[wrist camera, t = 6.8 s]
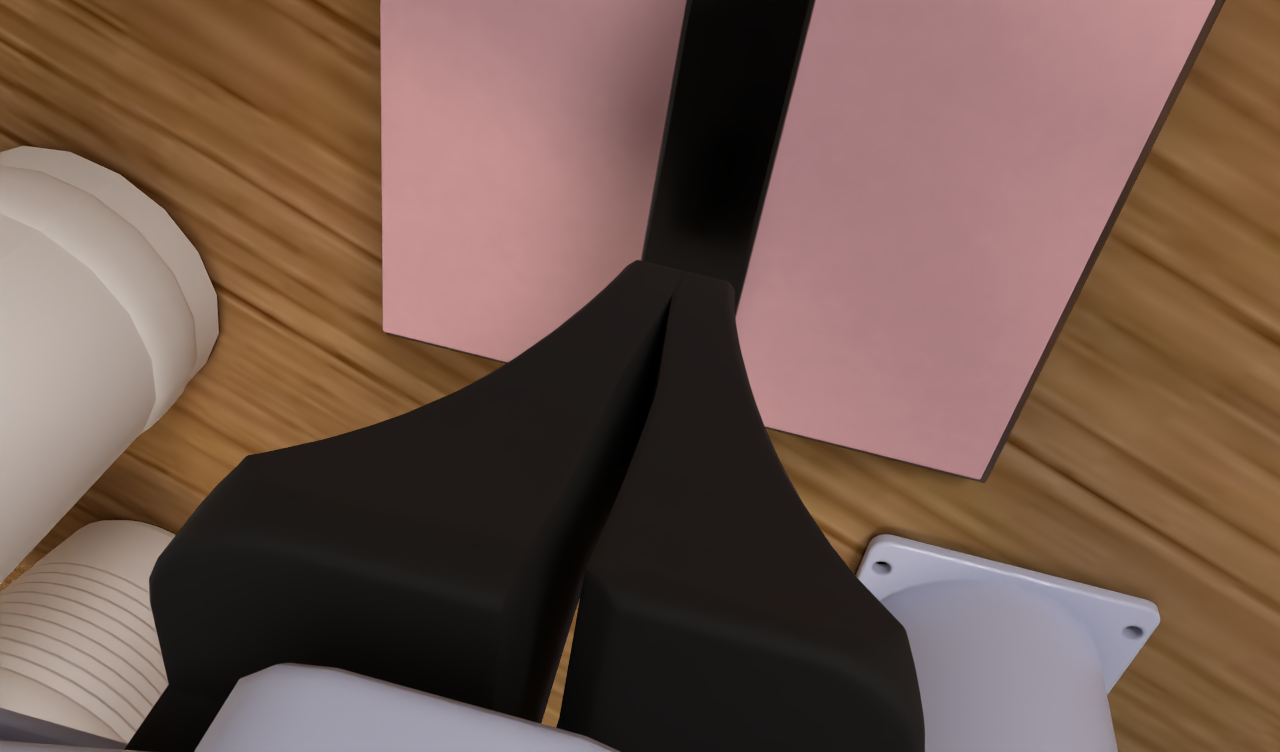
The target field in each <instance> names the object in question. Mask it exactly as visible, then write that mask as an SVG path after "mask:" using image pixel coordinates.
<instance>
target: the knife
mask: <svg viewBox="0 0 1280 752" xmlns="http://www.w3.org/2000/svg"><path fill="white" fill-rule="evenodd" d="M815 1H816V0H686V3H685V9H684V15H683V20H682V26H681V32H680V38H679V43H678V49H677V55H676V61H675V66H674V72H673V78H672V83H671V89H670V95H669V101H668V106H667V112H666V118H665V124H664V129H663V135H662V141H661V146H660V152H659V158H658V164H657V169H656V175H655V181H654V187H653V192H652V198H651V204H650V210H649V215H648V221H647V227H646V232H645V238H644V244H643V250H642V255H641V261H645V262H649V263H653V264H658V265H662V266H666V267H670V268H674V269H679V270H683V271H687V272H691V273H695V274H699V275H704V276H708V277H712V278H716V279H720V280H725V281H729V282H730V284H731V285H732V287H733V289H734V290H735V298H734V307H735V319H736V315H737V311H738V307H739V303H740V299H741V295H742V291H743V287H744V283H745V279H746V275H747V271H748V267H749V263H750V259H751V255H752V251H753V247H754V243H755V239H756V235H757V231H758V227H759V223H760V220H761V216H762V212H763V208H764V204H765V200H766V196H767V192H768V188H769V184H770V180H771V176H772V172H773V168H774V164H775V160H776V156H777V152H778V148H779V144H780V140H781V136H782V132H783V128H784V124H785V120H786V116H787V112H788V108H789V104H790V100H791V97H792V93H793V89H794V85H795V81H796V77H797V73H798V69H799V65H800V61H801V57H802V53H803V49H804V45H805V41H806V37H807V33H808V29H809V25H810V21H811V17H812V13H813V9H814V5H815Z"/></svg>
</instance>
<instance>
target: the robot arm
mask: <svg viewBox="0 0 1280 752" xmlns="http://www.w3.org/2000/svg"><path fill="white" fill-rule="evenodd" d="M734 298H735V290H734V289H733V287H732V285H731V284H730V282H729V281H725V280H720V279H716V278H712V277H708V276H704V275H699V274H695V273H691V272H687V271H683V270H679V269H674V268H670V267H666V266H662V265H658V264H653V263H649V262H645V261H641V260H636V261H634V262H632V263H630V264H629V265H627V266H626V267H625V268H624V269H623V270H622V271H621V273H620V274H619V275H618V276H617V277H616V278H615V279H614V280H613V281H611V282H610V283H609V284H608V285H607V286H606V287H605V288H604V289H603V290H602V291H601V292H600V293H599V294H597V295H596V296H595V297H594V298H593V299H592V300H591V301H590V302H588V303H587V304H586V305H585V306H584V307H583V308H581V309H580V310H579V311H578V312H576V313H575V314H574V315H573V316H571V317H570V318H569V319H568V320H567V321H565V322H564V323H563V324H562V325H560V326H559V327H558V328H557V329H555V330H554V331H553V332H551V333H550V334H549V335H547V336H546V337H544V338H543V339H541V340H540V341H539V342H537V343H536V344H534V345H533V346H531V347H530V348H529V349H527V350H526V351H524V352H523V353H521V354H520V355H519V356H517V357H516V358H514V359H513V360H511V361H509V362H508V363H506V364H505V365H503V366H501V367H500V368H498V369H496V370H495V371H493V372H491V373H490V374H488V375H486V376H484V377H483V378H481V379H479V380H477V381H475V382H473V383H472V384H470V385H468V386H466V387H464V388H462V389H460V390H458V391H456V392H454V393H452V394H450V395H448V396H445V397H443V398H441V399H438V400H436V401H434V402H431V403H429V404H427V405H424V406H422V407H420V408H417V409H415V410H413V411H410V412H408V413H406V414H403V415H400V416H398V417H395V418H392V419H389V420H386V421H383V422H380V423H377V424H374V425H371V426H368V427H365V428H362V429H358V430H355V431H352V432H348V433H345V434H342V435H338V436H334V437H331V438H327V439H323V440H319V441H315V442H310V443H306V444H301V445H297V446H292V447H288V448H283V449H278V450H274V451H269V452H265V453H260V454H254V455H249V456H246V457H245V458H244V459H243V460H242V461H241V462H240V464H239V465H238V466H237V467H236V468H235V469H234V470H233V471H232V472H231V473H230V474H228V475H227V476H226V477H225V478H224V479H223V480H222V481H221V482H220V483H219V484H218V485H217V486H216V487H215V488H214V489H213V491H212V492H211V493H210V494H209V495H208V496H207V497H206V498H205V499H204V500H203V502H202V503H201V504H200V505H199V506H198V508H197V509H196V510H195V512H194V513H193V514H192V515H191V517H190V518H189V519H188V520H187V522H186V523H185V524H184V525H183V527H182V528H181V529H180V531H179V532H178V533H177V534H176V536H175V537H174V538H173V539H172V541H171V542H170V543H169V544H168V546H167V547H166V548H165V549H164V551H163V552H162V553H161V555H160V556H159V557H158V559H157V561H156V563H155V565H154V568H153V570H152V572H151V575H150V577H149V595H150V605H151V610H152V614H153V618H154V623H155V627H156V631H157V636H158V640H159V645H160V649H161V653H162V658H163V662H164V666H165V671H166V675H167V680H168V684H169V685H168V686H167V688H166V689H165V690H164V692H163V693H162V695H161V696H160V698H159V699H158V701H157V702H156V704H155V705H154V706H153V708H152V709H151V711H150V712H149V714H148V715H147V717H146V718H145V720H144V721H143V722H142V724H141V725H140V727H139V728H138V730H137V731H136V733H135V734H134V736H133V737H132V738H131V740H130V741H129V743H128V744H126V743H123V742H119V741H116V740H112V739H109V738H105V737H102V736H98V735H95V734H91V733H88V732H84V731H81V730H77V729H74V728H70V727H67V726H63V725H60V724H56V723H53V722H49V721H46V720H42V719H38V718H35V717H31V716H28V715H24V714H21V713H17V712H14V711H10V710H7V709H3V708H0V752H1118V751H1117V745H1116V740H1115V735H1114V729H1113V724H1112V719H1111V714H1110V708H1109V703H1108V698H1107V695H1108V693H1109V692H1110V691H1111V689H1112V688H1113V686H1114V685H1115V684H1116V682H1117V681H1118V680H1119V678H1120V677H1121V676H1122V674H1123V673H1124V671H1125V670H1126V669H1127V667H1128V666H1129V665H1130V663H1131V662H1132V660H1133V659H1134V658H1135V656H1136V655H1137V654H1138V652H1139V651H1140V649H1141V648H1142V647H1143V645H1144V644H1145V643H1146V641H1147V640H1148V638H1149V637H1150V636H1151V634H1152V633H1153V632H1154V630H1155V629H1156V628H1157V626H1158V625H1159V622H1160V620H1161V619H1160V615H1159V612H1158V608H1157V606H1156V605H1155V604H1154V603H1153V602H1151V601H1149V600H1146V599H1142V598H1138V597H1134V596H1130V595H1126V594H1123V593H1119V592H1115V591H1111V590H1107V589H1103V588H1099V587H1095V586H1091V585H1087V584H1083V583H1079V582H1075V581H1071V580H1068V579H1064V578H1060V577H1056V576H1052V575H1048V574H1044V573H1040V572H1036V571H1032V570H1028V569H1024V568H1020V567H1016V566H1012V565H1009V564H1005V563H1001V562H997V561H993V560H989V559H985V558H981V557H977V556H973V555H969V554H965V553H961V552H957V551H953V550H950V549H946V548H942V547H938V546H934V545H930V544H926V543H922V542H918V541H914V540H910V539H906V538H902V537H898V536H895V535H888V534H883V535H878V536H876V537H874V538H873V539H872V540H871V541H870V542H869V545H868V547H867V550H866V552H865V554H864V557H863V559H862V561H861V564H860V566H859V569H858V571H857V573H856V576H855V575H854V573H853V572H852V571H851V570H850V569H849V567H848V566H847V565H846V564H845V562H844V561H843V560H842V559H841V557H840V556H839V555H838V554H837V552H836V551H835V550H834V549H833V547H832V546H831V544H830V543H829V541H828V540H827V538H826V537H825V535H824V534H823V533H822V531H821V530H820V528H819V527H818V525H817V524H816V522H815V521H814V519H813V518H812V516H811V515H810V513H809V512H808V510H807V509H806V507H805V506H804V504H803V502H802V501H801V499H800V497H799V496H798V494H797V492H796V490H795V488H794V487H793V485H792V483H791V481H790V479H789V478H788V476H787V474H786V472H785V470H784V468H783V466H782V464H781V462H780V460H779V458H778V456H777V454H776V452H775V449H774V447H773V445H772V443H771V440H770V438H769V436H768V433H767V431H766V428H765V426H764V423H763V421H762V418H761V415H760V413H759V410H758V407H757V404H756V402H755V399H754V395H753V392H752V389H751V386H750V383H749V379H748V375H747V372H746V368H745V364H744V361H743V357H742V353H741V348H740V344H739V338H738V332H737V326H736V319H735V307H734ZM879 561H881V562H886V563H887V564H878V563H876V562H879ZM579 599H580V602H579ZM578 602H579V608H578V613H577V619H576V625H575V631H574V637H573V642H572V648H571V654H570V660H569V665H568V671H567V677H566V683H565V689H564V694H563V700H562V706H561V712H560V718H559V721H558V724H557V727H556V728H554V727H551V726H547V725H543V724H541V722H542V719H543V715H544V712H545V709H546V705H547V702H548V699H549V695H550V692H551V689H552V685H553V682H554V679H555V675H556V672H557V669H558V666H559V662H560V659H561V656H562V652H563V649H564V646H565V643H566V639H567V636H568V633H569V630H570V626H571V623H572V620H573V616H574V613H575V610H576V607H577V605H578ZM1129 626H1136V627H1133V628H1127V627H1129Z"/></svg>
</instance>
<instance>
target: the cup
mask: <svg viewBox="0 0 1280 752" xmlns="http://www.w3.org/2000/svg"><path fill="white" fill-rule="evenodd" d="M175 536H176V535H175V534H173V533H171V532H169V531H166V530H164V529H162V528H159V527H157V526H154V525H150V524H147V523H143V522H138V521H131V520H102V521H98V522H93V523H90V524H88V525H86V526H84V527H82V528H80V529H79V530H77V531H76V532H75V533H74V534H72V535H71V536H70V537H68V538H67V539H66V540H65V541H63V542H62V543H61V544H60V545H58V546H57V547H56V548H54V549H53V550H52V551H51V552H49V553H48V554H47V555H45V556H44V557H43V558H42V559H40V560H39V561H38V562H36V563H35V564H34V566H33V567H32V568H31V569H30V570H28V571H26V572H24V573H23V574H22V575H21V576H20V577H19V578H18V579H17V580H15V581H13V582H11V583H10V584H9V585H8V586H7V587H6V588H5V589H4V590H2V591H0V708H3V709H7V710H10V711H14V712H17V713H21V714H24V715H28V716H31V717H35V718H38V719H42V720H46V721H49V722H53V723H56V724H60V725H63V726H67V727H70V728H74V729H77V730H81V731H84V732H88V733H91V734H95V735H98V736H102V737H105V738H109V739H112V740H116V741H119V742H123V743H126V744H128V743H129V741H130V740H131V738H132V737H133V736H134V734H135V733H136V731H137V730H138V728H139V727H140V725H141V724H142V722H143V721H144V720H145V718H146V717H147V715H148V714H149V712H150V711H151V709H152V708H153V706H154V705H155V704H156V702H157V701H158V699H159V698H160V696H161V695H162V693H163V692H164V690H165V689H166V688H167V686H168V685H169V684H168V680H167V675H166V671H165V666H164V662H163V658H162V653H161V649H160V645H159V640H158V636H157V631H156V627H155V623H154V618H153V614H152V610H151V605H150V595H149V577H150V575H151V572H152V570H153V568H154V565H155V563H156V561H157V559H158V557H159V556H160V555H161V553H162V552H163V551H164V549H165V548H166V547H167V546H168V544H169V543H170V542H171V541H172V539H173V538H174V537H175Z"/></svg>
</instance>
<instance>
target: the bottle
mask: <svg viewBox="0 0 1280 752" xmlns="http://www.w3.org/2000/svg"><path fill="white" fill-rule="evenodd" d="M218 335H219V326H218V309H217V295H216V292H215V290H214V288H213V285H212V283H211V281H210V278H209V276H208V274H207V271H206V269H205V267H204V264H203V262H202V260H201V257H200V255H199V253H198V251H197V250H196V249H195V247H194V246H193V245H192V243H191V242H190V241H189V240H188V238H187V237H186V236H185V235H184V233H183V232H182V231H181V230H180V228H179V227H178V226H177V225H176V223H175V222H174V221H173V220H172V218H171V217H170V216H169V214H168V213H167V212H166V211H165V209H163V208H162V207H161V206H159V205H158V204H157V203H156V202H154V201H153V200H152V199H151V198H149V197H148V196H147V195H145V194H144V193H143V192H142V191H140V190H139V189H138V188H137V187H135V186H134V185H133V184H131V183H130V182H129V181H128V180H126V179H125V178H124V177H123V176H121V175H120V174H118V173H116V172H114V171H111V170H109V169H107V168H105V167H103V166H100V165H98V164H96V163H94V162H91V161H89V160H87V159H85V158H83V157H80V156H78V155H76V154H74V153H72V152H67V151H60V150H52V149H45V148H37V147H30V146H20V147H17V148H13V149H10V150H6V151H3V152H0V584H1V583H2V582H3V581H4V580H5V579H6V578H7V576H8V575H9V574H10V573H11V572H12V571H13V570H14V569H15V568H16V567H17V566H18V565H19V564H20V563H21V561H22V560H23V559H24V558H25V557H26V556H27V555H28V554H29V553H30V552H31V551H32V550H33V549H34V547H35V546H36V545H37V544H38V543H39V542H40V541H41V540H42V539H43V538H44V537H45V536H46V535H47V534H48V532H49V531H50V530H51V529H52V528H53V527H54V526H55V525H56V524H57V523H58V522H59V521H60V520H61V518H62V517H63V516H64V515H65V514H66V513H67V512H68V511H69V510H70V509H71V508H72V507H73V506H74V505H75V503H76V502H77V501H78V500H79V499H80V498H81V497H82V496H83V495H84V494H85V493H86V492H87V491H88V489H89V488H90V487H91V486H92V485H93V484H94V483H95V482H96V481H97V480H98V479H99V478H100V477H101V476H102V474H103V473H104V472H105V471H106V470H107V469H108V468H109V467H110V466H111V465H112V464H113V463H114V462H115V460H116V459H117V458H118V457H119V456H120V455H121V454H122V453H123V452H124V451H125V450H126V449H127V448H128V447H129V445H130V444H131V443H132V442H133V441H134V440H135V439H136V438H137V437H138V436H139V435H140V434H142V433H143V432H145V431H146V430H148V429H149V428H151V427H152V426H153V425H154V424H155V423H156V422H157V421H158V420H159V419H160V418H161V417H162V416H163V415H164V414H165V413H166V412H167V411H168V410H169V409H170V407H171V406H172V405H173V404H174V403H175V402H176V400H177V399H178V398H179V397H180V396H181V394H182V393H183V391H184V389H185V387H186V384H187V383H188V382H189V381H190V380H191V379H192V378H193V377H194V376H195V375H196V373H197V372H198V371H199V370H200V369H201V368H202V367H203V366H204V365H205V364H206V362H207V360H208V358H209V355H210V353H211V351H212V348H213V346H214V344H215V342H216V339H217V337H218Z"/></svg>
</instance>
